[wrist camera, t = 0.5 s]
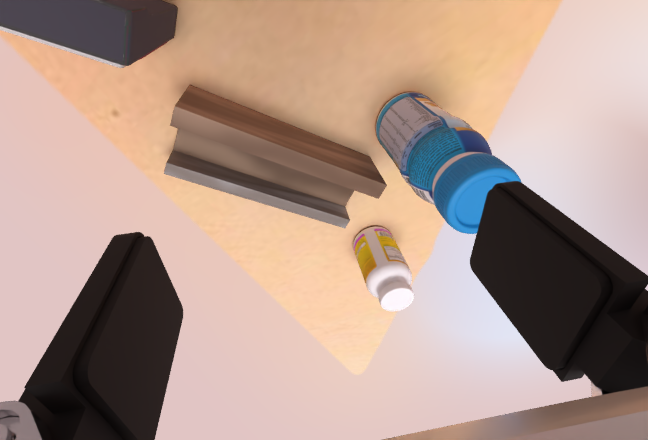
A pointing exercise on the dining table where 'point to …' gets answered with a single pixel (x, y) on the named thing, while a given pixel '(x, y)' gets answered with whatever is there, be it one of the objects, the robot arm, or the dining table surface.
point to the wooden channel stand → (266, 159)
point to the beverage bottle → (441, 158)
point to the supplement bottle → (384, 268)
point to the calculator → (93, 26)
